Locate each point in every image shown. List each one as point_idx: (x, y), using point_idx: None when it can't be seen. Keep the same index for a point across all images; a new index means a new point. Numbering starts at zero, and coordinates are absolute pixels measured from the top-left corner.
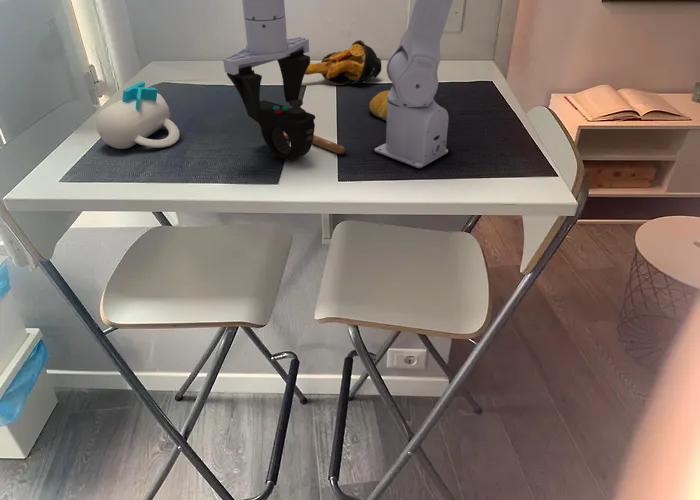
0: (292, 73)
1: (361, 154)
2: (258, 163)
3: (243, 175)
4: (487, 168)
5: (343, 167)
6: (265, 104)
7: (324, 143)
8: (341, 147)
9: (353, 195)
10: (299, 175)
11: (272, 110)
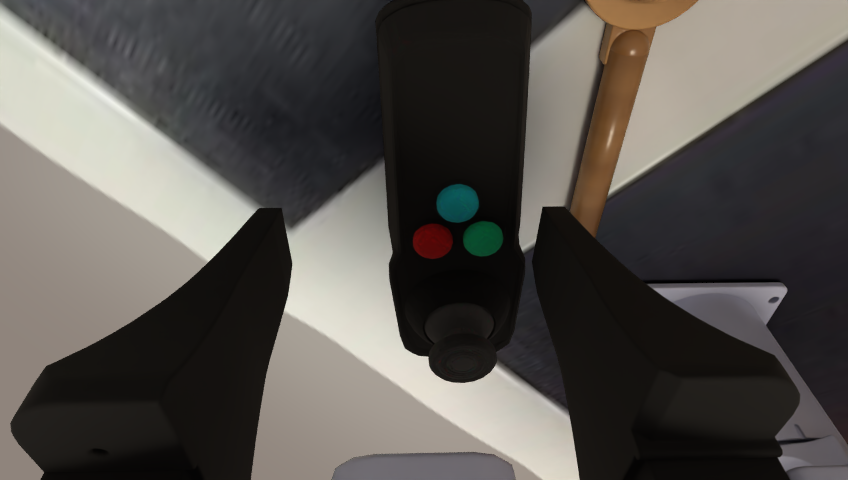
0: (583, 397)
1: None
2: (327, 77)
3: (225, 112)
4: None
5: None
6: (475, 101)
7: (584, 186)
8: None
9: (399, 366)
10: (376, 235)
11: (431, 197)
